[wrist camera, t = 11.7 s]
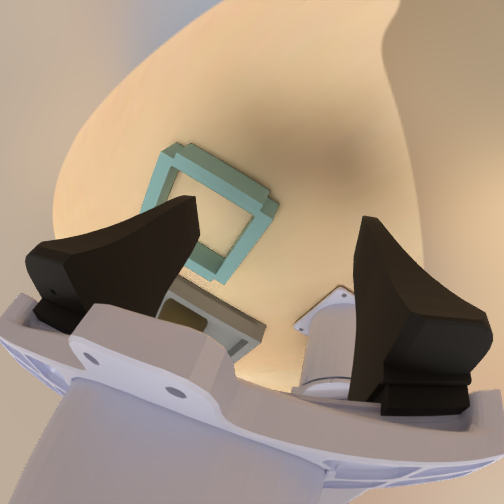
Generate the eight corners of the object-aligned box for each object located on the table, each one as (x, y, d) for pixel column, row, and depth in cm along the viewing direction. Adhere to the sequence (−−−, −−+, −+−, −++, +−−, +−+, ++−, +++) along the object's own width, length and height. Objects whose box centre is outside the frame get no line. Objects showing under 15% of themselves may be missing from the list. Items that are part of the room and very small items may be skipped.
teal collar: (282, 199, 23) (277, 213, 21) (229, 271, 29) (221, 288, 27) (178, 136, 22) (163, 145, 20) (146, 220, 28) (133, 233, 26)
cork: (190, 335, 37) (157, 404, 29) (155, 307, 35) (114, 376, 27) (217, 322, 34) (182, 402, 25) (178, 290, 32) (132, 369, 23)
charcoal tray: (266, 325, 33) (261, 342, 31) (221, 363, 41) (216, 376, 39) (144, 253, 31) (133, 267, 29) (127, 308, 39) (119, 320, 37)
